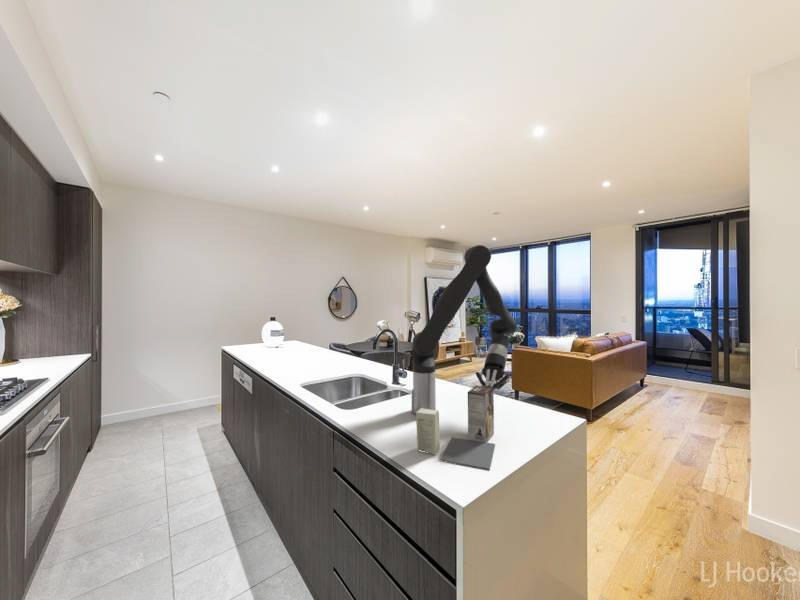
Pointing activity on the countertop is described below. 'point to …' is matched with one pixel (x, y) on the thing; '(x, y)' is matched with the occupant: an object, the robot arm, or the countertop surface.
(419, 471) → the countertop surface
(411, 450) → the countertop surface
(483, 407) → the coffee box
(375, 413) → the countertop surface
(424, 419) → the skincare box
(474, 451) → the mat
